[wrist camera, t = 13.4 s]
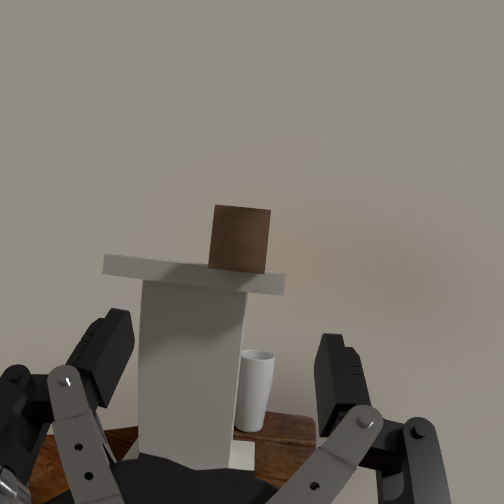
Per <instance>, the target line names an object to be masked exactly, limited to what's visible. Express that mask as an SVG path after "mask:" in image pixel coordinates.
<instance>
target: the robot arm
mask: <svg viewBox="0 0 504 504" xmlns="http://www.w3.org/2000/svg"><path fill="white" fill-rule="evenodd" d="M134 342H135V338H134V332H133V327H132V321H131V316H130V312H129V311H126V310H120V309H115V308H112V309H110V311H109V312H108V314H107V315H106V317H105V318H99V319H97V320H96V321H94V322H93V323H92V324H91V325H90V326H89V328H88V329H87V331H86V332H85V334H84V335H83V337H82V338H81V341H80V342H79V343H78V345H77V346H76V348H75V349H74V351H73V353H72V354H71V356H70V357H69V359H68V361H67V362H66V364H65V365H61V366H58V367H56V368H54V369H53V370H52V371H51V372H50V373H49V374H47V375H44V374H30V372H29V370H28V368H26V367H25V366H24V365H18V364H17V365H12V366H10V367H9V368H7V369H6V370H5V371H4V373H3V374H2V376H1V377H0V504H31V495H30V491H29V489H28V487H27V483H28V480H29V478H30V475H31V472H32V469H33V467H34V464H35V462H36V459H37V456H38V454H39V451H40V449H41V446H42V444H43V441H44V439H45V437H46V434H47V432H48V429H49V427H50V424H52V427H53V431H54V436H55V440H56V444H57V447H58V451H59V455H60V458H61V462H62V465H63V468H64V472H65V475H66V478H67V481H68V484H69V487H70V489H69V490H67V491H65V492H63V493H62V494H60V495H58V496H56V497H54V498H53V499H51V500H49V501H47V502H45V503H43V504H331V502H332V501H333V500H334V499H335V497H336V496H337V495H338V493H339V492H340V491H341V489H342V488H343V487H344V485H345V484H346V483H347V481H348V480H349V479H350V477H351V476H352V474H353V473H354V471H355V470H356V467H357V466H361V467H365V468H370V469H374V470H376V479H377V492H378V504H451V500H450V494H449V488H448V483H447V478H446V474H445V468H444V464H443V459H442V455H441V450H440V446H439V442H438V438H437V434H436V430H435V428H434V426H433V425H432V423H431V422H429V421H428V420H426V419H425V418H421V417H414V418H411V419H409V420H408V421H407V422H406V423H405V424H402V423H398V422H394V421H389V420H386V419H384V418H382V415H381V414H380V413H379V411H378V410H376V409H375V408H373V407H372V406H371V402H370V398H369V393H368V389H367V385H366V381H365V377H364V372H363V369H362V364H361V360H360V357H359V355H358V354H357V353H356V351H355V350H354V349H353V348H352V347H345V345H344V341H343V337H342V335H341V334H326V333H324V334H323V335H322V338H321V342H320V345H319V348H318V352H317V355H316V358H315V364H314V379H315V390H316V399H317V412H318V424H319V437H328V439H327V440H326V441H325V442H324V444H323V445H322V446H321V447H318V448H317V449H316V450H315V451H314V452H313V454H312V455H311V456H310V457H309V458H308V459H307V460H306V462H305V463H304V464H303V465H302V466H301V467H300V468H299V469H298V470H297V472H296V473H295V474H294V475H293V476H292V477H291V478H290V479H289V480H288V481H287V482H286V483H285V484H284V485H283V486H282V487H281V488H280V490H279V489H278V488H276V487H275V486H274V485H272V484H270V483H268V482H266V481H264V480H262V479H259V478H255V474H256V471H253V470H241V469H232V468H219V469H207V470H193V469H191V468H188V467H186V466H183V465H181V464H179V463H176V462H174V461H172V460H170V459H167V458H163V457H159V456H154V455H150V454H146V453H141V452H139V455H138V459H127V460H122V461H119V462H116V460H115V457H114V455H113V453H112V451H111V449H110V447H109V444H108V442H107V439H106V437H105V434H104V431H103V429H102V426H101V423H100V420H99V417H98V415H97V413H96V409H97V407H98V406H100V407H103V408H107V407H108V404H109V402H110V400H111V398H112V395H113V393H114V391H115V389H116V386H117V384H118V382H119V380H120V377H121V375H122V373H123V371H124V369H125V367H126V365H127V362H128V360H129V358H130V356H131V354H132V352H133V349H134Z"/></svg>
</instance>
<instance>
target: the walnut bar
mask: <svg viewBox="0 0 504 504" xmlns="http://www.w3.org/2000/svg"><path fill="white" fill-rule="evenodd" d="M270 212H271V210H265V209H255V208H245V207H235V206H224V205H215V210H214V218H213V227H212V236H211V244H210V253H209V263H208V268H209V269H218V270H227V271H236V272H246V273H255V274H264V273H265V263H266V254H267V244H268V233H269V223H270V214H271V213H270Z"/></svg>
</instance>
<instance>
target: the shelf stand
mask: <svg viewBox="0 0 504 504" xmlns="http://www.w3.org/2000/svg"><path fill="white" fill-rule="evenodd" d="M103 274H108V275H115V276H122V277H129V278H136V279H143V286H142V287H143V288H142V299H141V314H140V331H139V356H138V435H139V437H138V438H137V440H136V441H135V442H134V444H133V445H132V447H131V448H130V449H129V451H128V452H127V454H126V455H125V457H124V458H123V459H122V460H127V459H138V455H139V452H141V453H146V454H150V455H154V456H159V457H163V458H167V459H170V460H172V461H174V462H176V463H179V464H181V465H183V466H186V467H188V468H191V469H193V470H207V469H219V468H232V469H241V470H253V471H254V442H246V441H236V440H232V439H233V430H234V420H235V411H236V401H237V391H238V382H239V372H240V363H241V353H242V343H243V342H242V341H243V333H244V324H245V314H246V304H247V295H248V292H252V293H261V294H272V295H283V292H284V283H285V274H283V273H279V272H275V271H266V270H265V273H264V274H255V273H246V272H236V271H227V270H218V269H209V268H208V264H200V263H191V262H182V261H173V260H164V259H156V258H145V257H133V256H122V255H111V254H104V262H103Z"/></svg>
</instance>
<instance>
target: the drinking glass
mask: <svg viewBox="0 0 504 504" xmlns="http://www.w3.org/2000/svg"><path fill="white" fill-rule="evenodd" d="M274 367H275V356H274V355H273V354H271V353H269V352H265V351H260V350H243V351H242V353H241V363H240V372H239V382H238V391H237V401H236V411H235V421H234V424H235V427H236V428H237V429H239V430H241V431H243V432H257V431H259V430H261V428H262V427H263V420H264V415H265V411H266V406H267V402H268V398H269V394H270V389H271V385H272V380H273V375H274Z"/></svg>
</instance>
